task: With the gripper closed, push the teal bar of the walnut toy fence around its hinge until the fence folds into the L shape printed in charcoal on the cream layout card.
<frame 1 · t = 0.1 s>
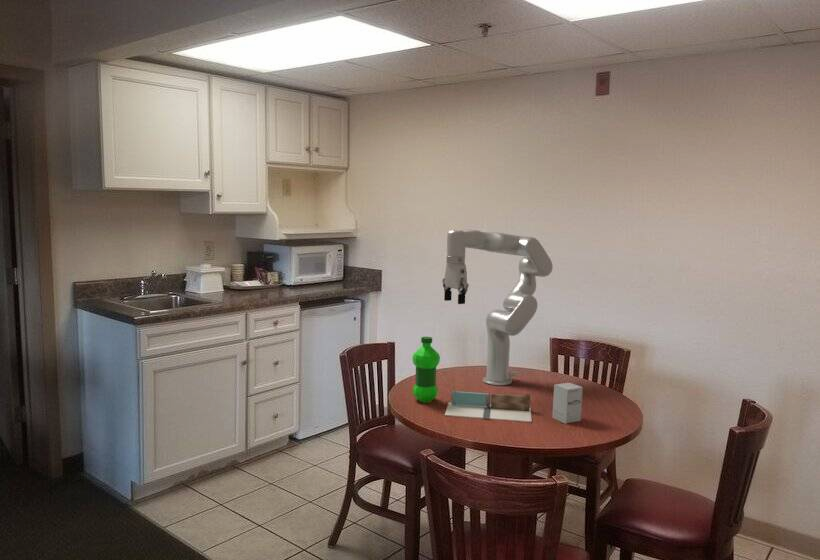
hand: (454, 302, 252), 37 cm above the table, tool pointing down, fingers open, 9 cm apart
plastic bottle: (425, 400, 240), on the table
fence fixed: (510, 401, 230), on the layout card
layout card: (487, 408, 232), on the table
supplement box: (566, 420, 221), on the table
teal bar: (470, 398, 233), point 3 cm above the table, hinge at 0.0°
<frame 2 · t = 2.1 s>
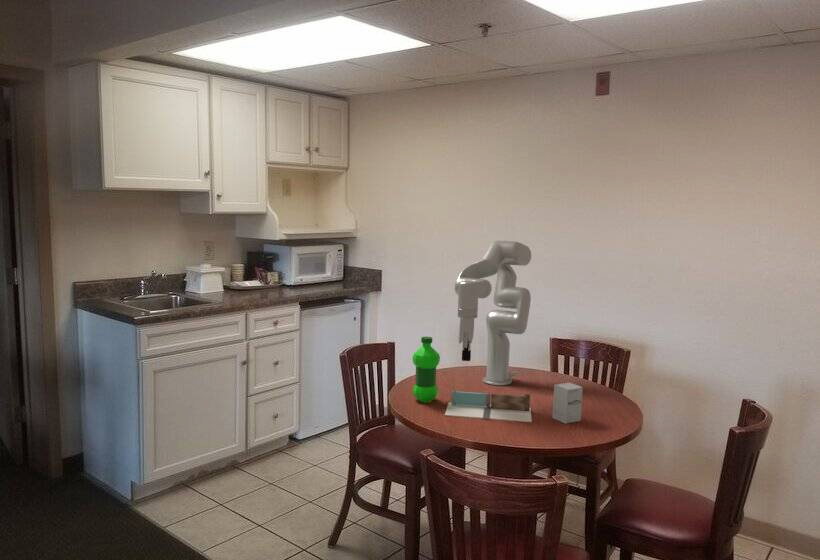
hand: (466, 360, 235), 17 cm above the table, tool pointing down, fingers closed
nothing on the table moved.
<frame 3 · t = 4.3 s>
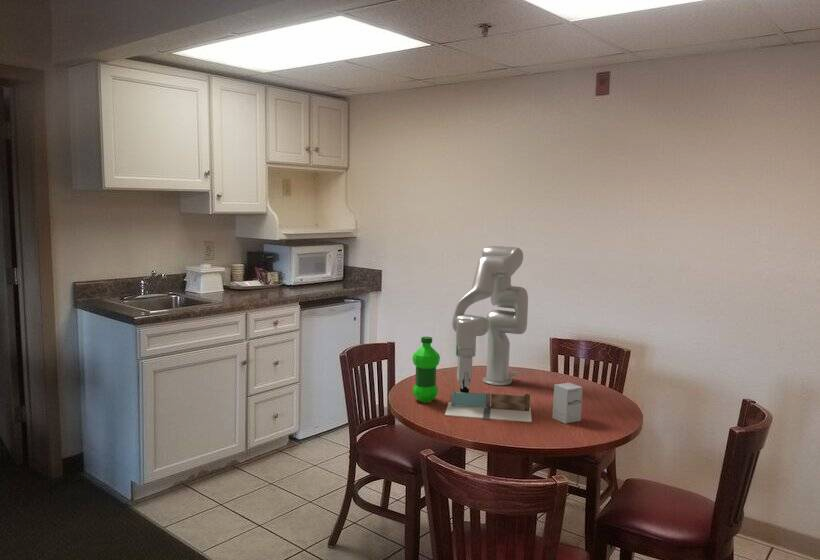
hand: (464, 398, 235), 3 cm above the table, tool pointing down, fingers closed
teal bar: (470, 399, 232), point 3 cm above the table, hinge at 5.3°, touching gripper
everything else where it was.
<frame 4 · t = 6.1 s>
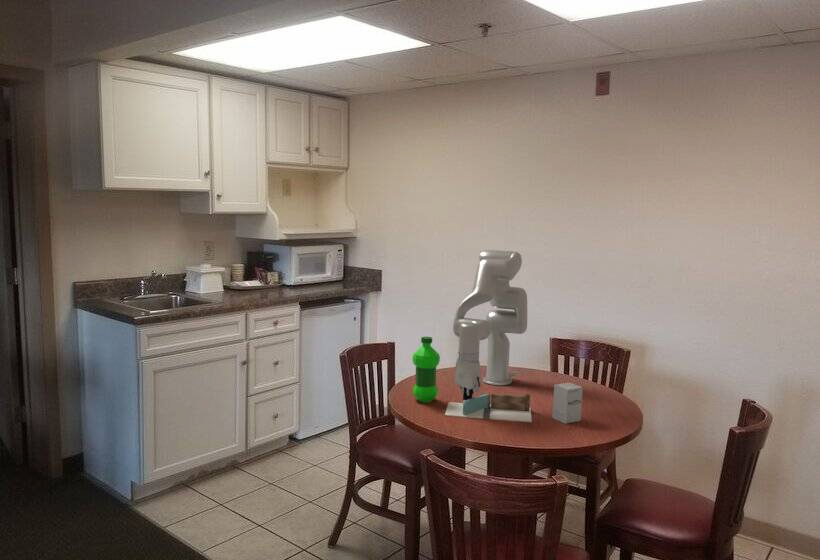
hand: (467, 404, 228), 3 cm above the table, tool pointing down, fingers closed
teal bar: (476, 403, 227), point 3 cm above the table, hinge at 53.2°, touching gripper
everything else where it was.
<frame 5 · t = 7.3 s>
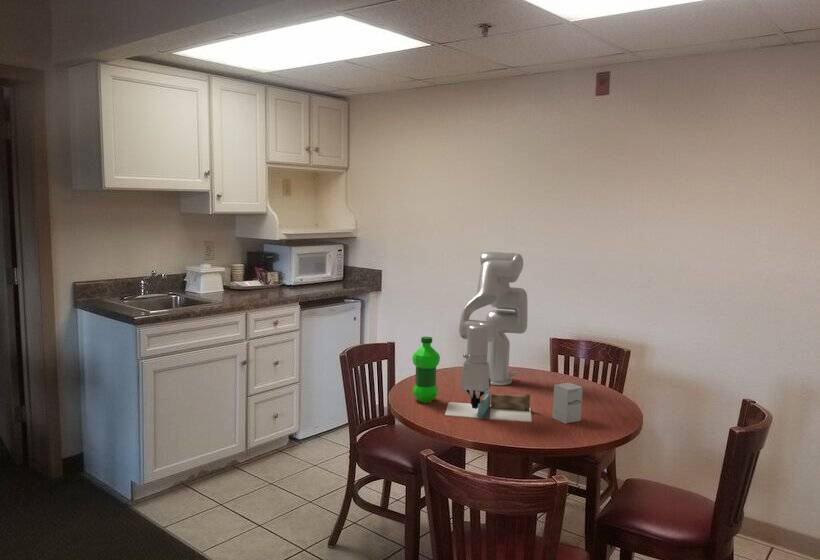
hand: (475, 407, 225), 3 cm above the table, tool pointing down, fingers closed
teal bar: (484, 405, 226), point 3 cm above the table, hinge at 80.4°, touching gripper
everything else where it was.
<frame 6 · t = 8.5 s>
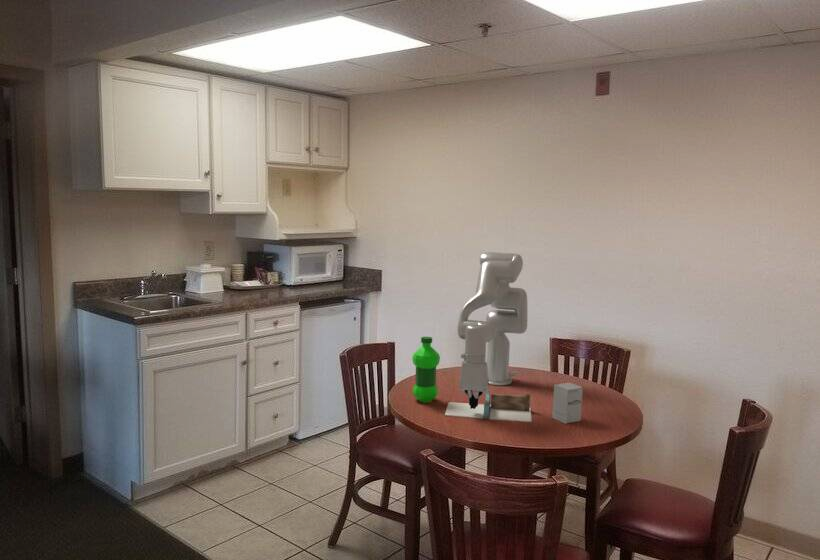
hand: (473, 407, 224), 3 cm above the table, tool pointing down, fingers closed
teal bar: (487, 405, 225), point 3 cm above the table, hinge at 90.0°
everything else where it was.
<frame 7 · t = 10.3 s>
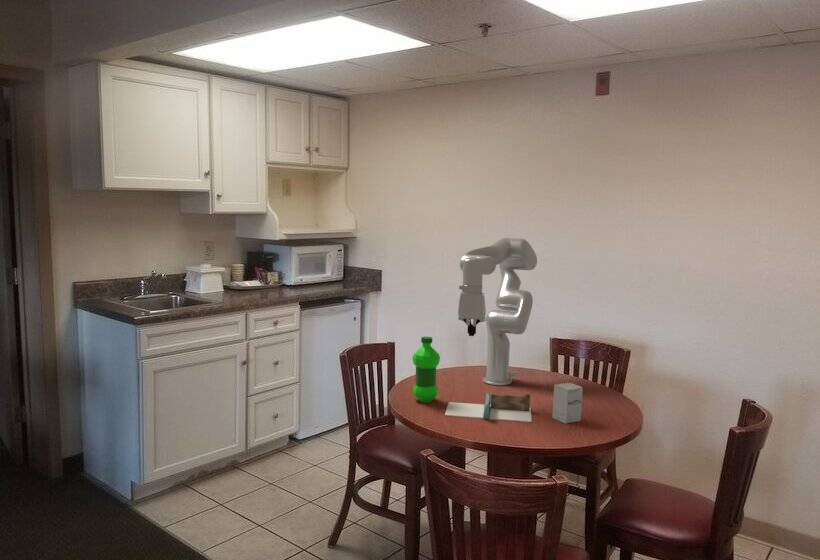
hand: (471, 335, 241), 26 cm above the table, tool pointing down, fingers closed
nothing on the table moved.
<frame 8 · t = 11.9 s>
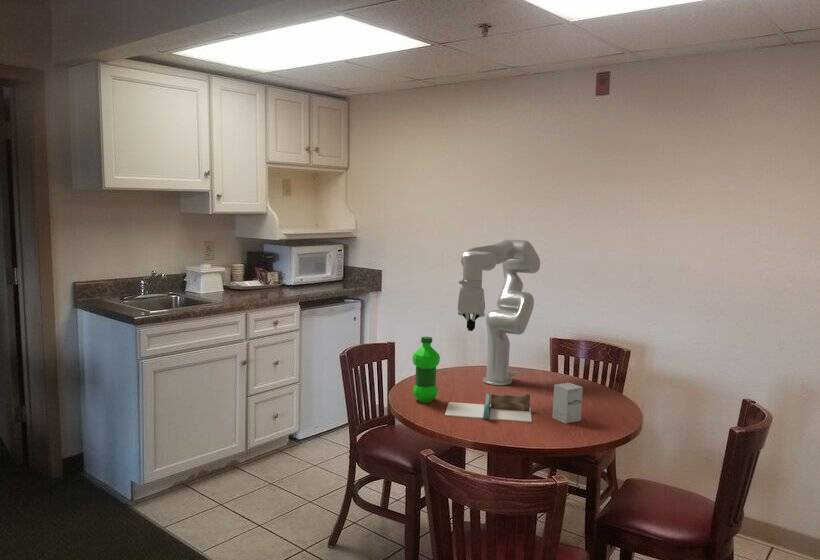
hand: (470, 330, 243), 27 cm above the table, tool pointing down, fingers closed
nothing on the table moved.
at the end: teal bar at +90° (first picture: +0°); the gripper is holding nothing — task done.
